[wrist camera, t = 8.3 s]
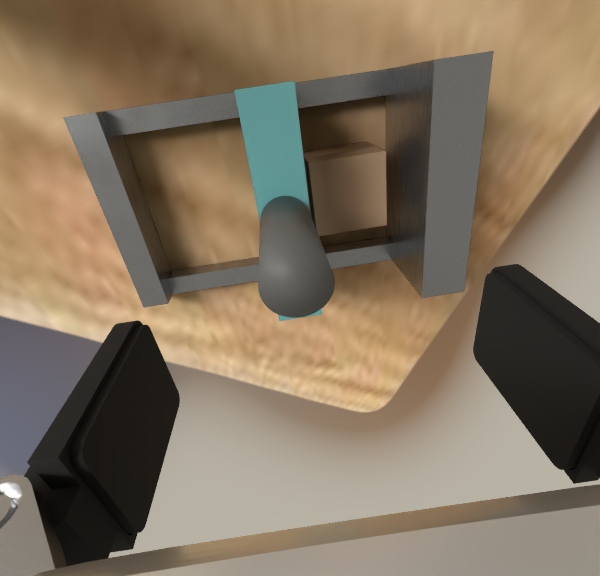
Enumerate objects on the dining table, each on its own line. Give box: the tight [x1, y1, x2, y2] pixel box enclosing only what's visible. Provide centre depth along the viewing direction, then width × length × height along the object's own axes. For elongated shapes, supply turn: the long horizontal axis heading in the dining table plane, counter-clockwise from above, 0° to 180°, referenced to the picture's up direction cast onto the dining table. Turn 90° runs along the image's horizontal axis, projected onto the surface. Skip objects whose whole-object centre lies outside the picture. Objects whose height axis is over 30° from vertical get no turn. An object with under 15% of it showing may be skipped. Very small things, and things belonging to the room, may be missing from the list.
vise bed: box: [63, 51, 493, 307], centre depth 24 cm, size 24×14×8 cm, turn 98°
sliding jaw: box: [234, 81, 335, 321], centre depth 20 cm, size 3×14×14 cm, turn 7°
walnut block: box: [303, 142, 387, 236], centre depth 26 cm, size 5×5×5 cm
